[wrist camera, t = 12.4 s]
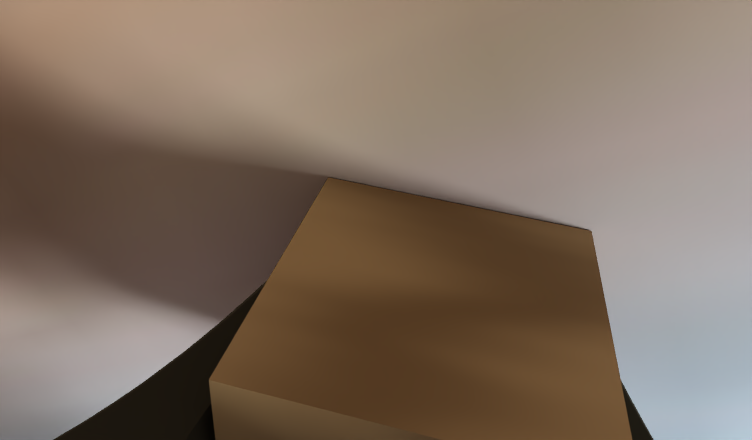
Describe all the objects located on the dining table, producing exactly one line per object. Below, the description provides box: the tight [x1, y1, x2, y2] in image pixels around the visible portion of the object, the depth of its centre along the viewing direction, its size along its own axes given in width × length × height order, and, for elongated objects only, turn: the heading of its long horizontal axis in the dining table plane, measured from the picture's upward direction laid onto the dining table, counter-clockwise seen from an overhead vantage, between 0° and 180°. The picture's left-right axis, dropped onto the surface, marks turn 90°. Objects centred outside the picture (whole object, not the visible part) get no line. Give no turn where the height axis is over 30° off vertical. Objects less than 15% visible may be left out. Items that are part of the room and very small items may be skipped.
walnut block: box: [209, 177, 632, 440], centre depth 10 cm, size 5×5×5 cm
